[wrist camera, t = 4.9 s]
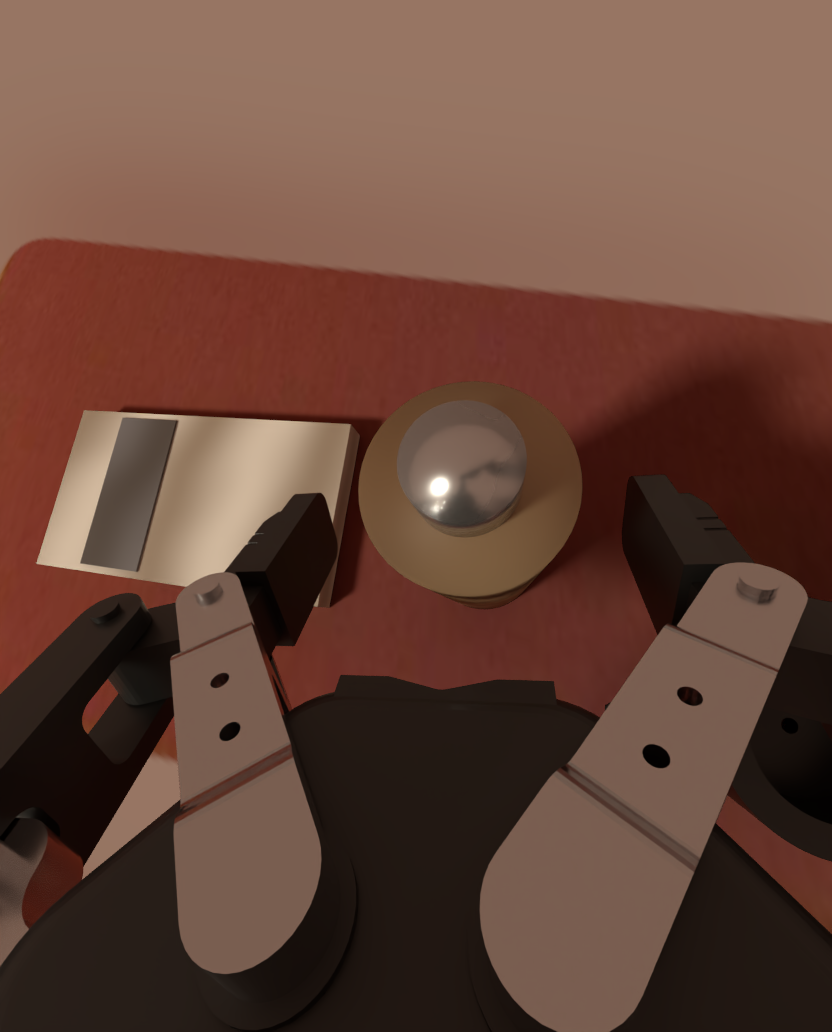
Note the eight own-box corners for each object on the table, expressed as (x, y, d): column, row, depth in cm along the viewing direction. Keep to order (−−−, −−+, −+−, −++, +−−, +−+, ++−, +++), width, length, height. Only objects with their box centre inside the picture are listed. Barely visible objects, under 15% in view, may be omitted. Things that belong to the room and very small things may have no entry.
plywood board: (359, 435, 20) (350, 423, 19) (329, 607, 18) (316, 606, 17) (105, 420, 23) (82, 409, 22) (61, 566, 22) (34, 563, 20)
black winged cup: (672, 546, 17) (704, 531, 14) (1000, 700, 14) (1124, 720, 11) (577, 736, 16) (590, 760, 13) (902, 940, 13) (1008, 1026, 10)
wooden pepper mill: (538, 511, 18) (601, 343, 7) (532, 614, 17) (592, 605, 6) (438, 504, 18) (354, 344, 8) (427, 603, 18) (318, 576, 7)
